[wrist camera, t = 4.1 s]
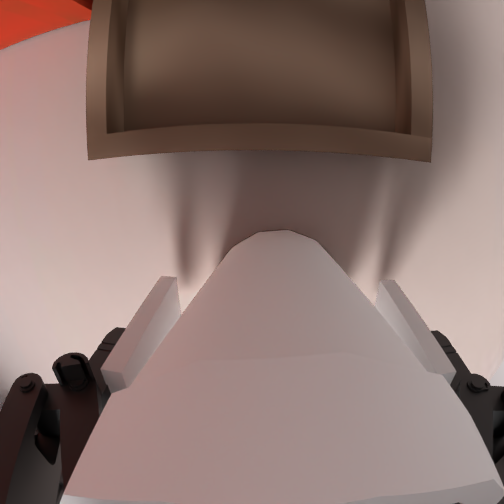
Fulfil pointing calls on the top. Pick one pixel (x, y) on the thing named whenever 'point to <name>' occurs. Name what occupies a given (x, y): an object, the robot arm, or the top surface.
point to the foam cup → (284, 401)
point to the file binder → (38, 17)
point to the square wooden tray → (259, 77)
